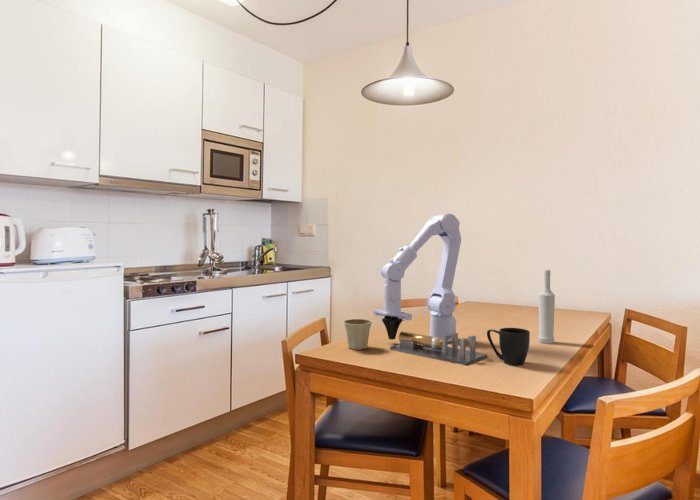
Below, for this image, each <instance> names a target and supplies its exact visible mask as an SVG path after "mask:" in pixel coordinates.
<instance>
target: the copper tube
mask: <svg viewBox="0 0 700 500" xmlns="http://www.w3.org/2000/svg"><path fill="white" fill-rule="evenodd" d="M400 340H405V341H411V342H415V345H417V346H422V347H428V348H432V349H437V350H442V338H438V337H432V336H430V335H426V334H425V335H424V334H421V333H420V334H418V333H414V332H408V331H401V332H400V333H399V334H398V342H400Z"/></svg>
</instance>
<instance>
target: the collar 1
mask: <svg viewBox="0 0 700 500" xmlns="http://www.w3.org/2000/svg"><path fill="white" fill-rule="evenodd" d="M452 337H453V339H452V341H451V342H452V346H451V347H452V351H455V352H456V351H458V349H459V333H458V332H456V333H451V334H448V335H445V336H442V355H447V349H448V347H449V345H448V343H449V342H448V339H449V338H452Z"/></svg>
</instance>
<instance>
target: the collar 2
mask: <svg viewBox="0 0 700 500" xmlns="http://www.w3.org/2000/svg"><path fill="white" fill-rule="evenodd" d="M476 339H477V338H476V335H469V336H468V337H467V338H466V337H463V338H460V339H459V349H460V358H461V359H465V358H466V345H467V344H466V343H467V342H468V341H469V351H470V355H475V354H476V352H477V351H476V349H477V347H476V344H477V340H476Z"/></svg>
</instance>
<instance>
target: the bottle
mask: <svg viewBox="0 0 700 500" xmlns="http://www.w3.org/2000/svg"><path fill="white" fill-rule="evenodd" d="M543 276H544V277H543V289H542V291H541V292H540V293H539V294H538V328H539V329H538V331H539V332H538V337H537V339H538V340H537V341H538V343H541V344H545V345H552V344H554V343H555V337H554V333H555V332H554V330H555V328H554V327H555V325H554V324H555V301H556V294H554V293H553V292H552V289H551V269H544V271H543Z"/></svg>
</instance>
